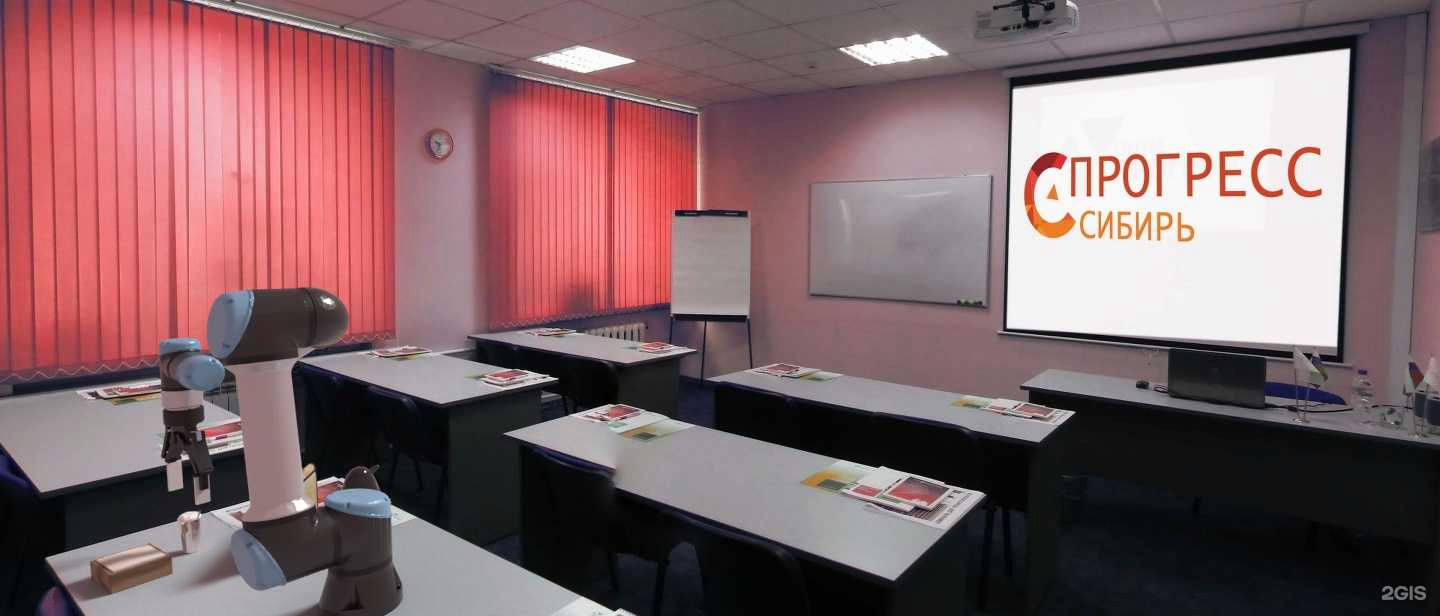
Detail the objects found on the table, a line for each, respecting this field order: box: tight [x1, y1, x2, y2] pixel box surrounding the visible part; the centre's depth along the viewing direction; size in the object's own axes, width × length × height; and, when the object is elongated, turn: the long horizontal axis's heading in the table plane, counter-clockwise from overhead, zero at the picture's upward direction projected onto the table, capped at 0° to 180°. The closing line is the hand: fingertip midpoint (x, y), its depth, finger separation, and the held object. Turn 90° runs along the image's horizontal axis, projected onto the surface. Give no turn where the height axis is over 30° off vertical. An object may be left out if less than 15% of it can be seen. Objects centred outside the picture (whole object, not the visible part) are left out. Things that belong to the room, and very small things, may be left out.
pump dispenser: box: [340, 464, 381, 492], centre depth 179 cm, size 10×10×15 cm
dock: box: [89, 542, 174, 595], centre depth 152 cm, size 11×10×4 cm
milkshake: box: [176, 510, 203, 555], centre depth 164 cm, size 4×5×10 cm
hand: (189, 496), depth 163 cm, fingers open, 13 cm apart
